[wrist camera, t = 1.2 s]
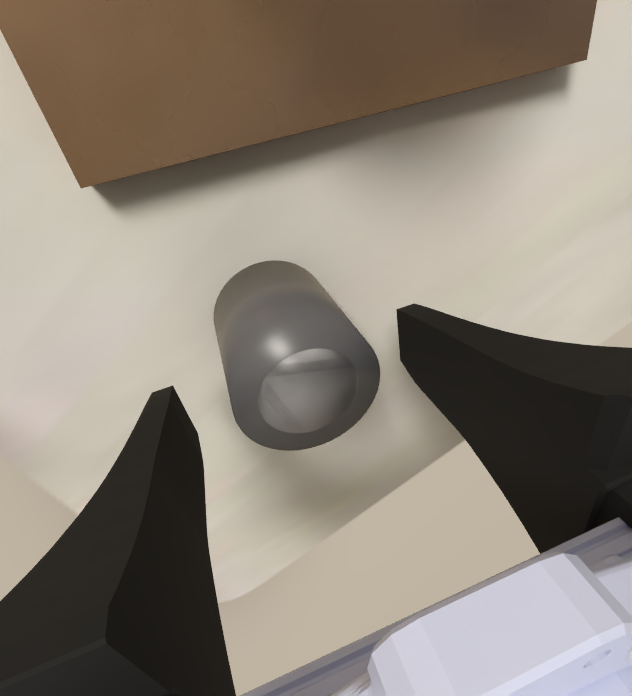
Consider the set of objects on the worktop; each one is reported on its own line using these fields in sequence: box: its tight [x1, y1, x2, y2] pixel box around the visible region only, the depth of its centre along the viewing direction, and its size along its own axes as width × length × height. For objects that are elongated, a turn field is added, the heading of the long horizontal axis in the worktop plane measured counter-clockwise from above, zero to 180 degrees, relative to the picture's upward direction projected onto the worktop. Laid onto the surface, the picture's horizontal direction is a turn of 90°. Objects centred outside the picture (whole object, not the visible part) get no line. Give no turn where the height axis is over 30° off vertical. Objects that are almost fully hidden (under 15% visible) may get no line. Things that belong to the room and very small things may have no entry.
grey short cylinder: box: [214, 261, 380, 450], centre depth 13 cm, size 4×4×5 cm
